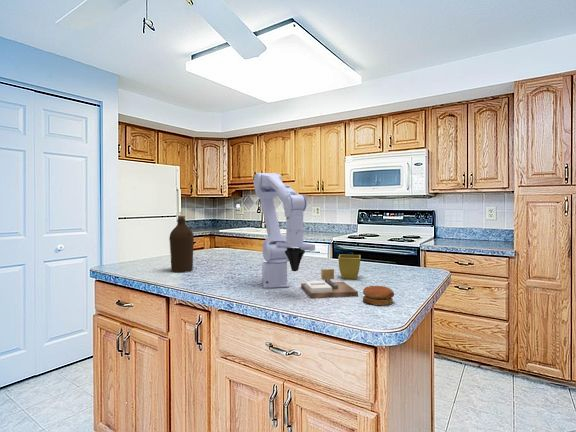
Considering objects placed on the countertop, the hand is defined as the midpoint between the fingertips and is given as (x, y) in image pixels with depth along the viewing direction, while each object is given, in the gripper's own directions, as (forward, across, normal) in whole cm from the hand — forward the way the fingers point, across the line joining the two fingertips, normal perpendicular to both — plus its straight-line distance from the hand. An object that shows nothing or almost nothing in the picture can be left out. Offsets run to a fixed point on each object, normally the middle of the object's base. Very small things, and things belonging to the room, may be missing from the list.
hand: (294, 270), depth 120 cm
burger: (+8, -26, -7) cm, 28 cm away
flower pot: (+8, -4, -35) cm, 36 cm away
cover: (+7, -6, -6) cm, 10 cm away
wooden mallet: (+6, -7, -12) cm, 15 cm away
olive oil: (+8, +66, -7) cm, 67 cm away
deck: (+8, -8, -10) cm, 15 cm away
